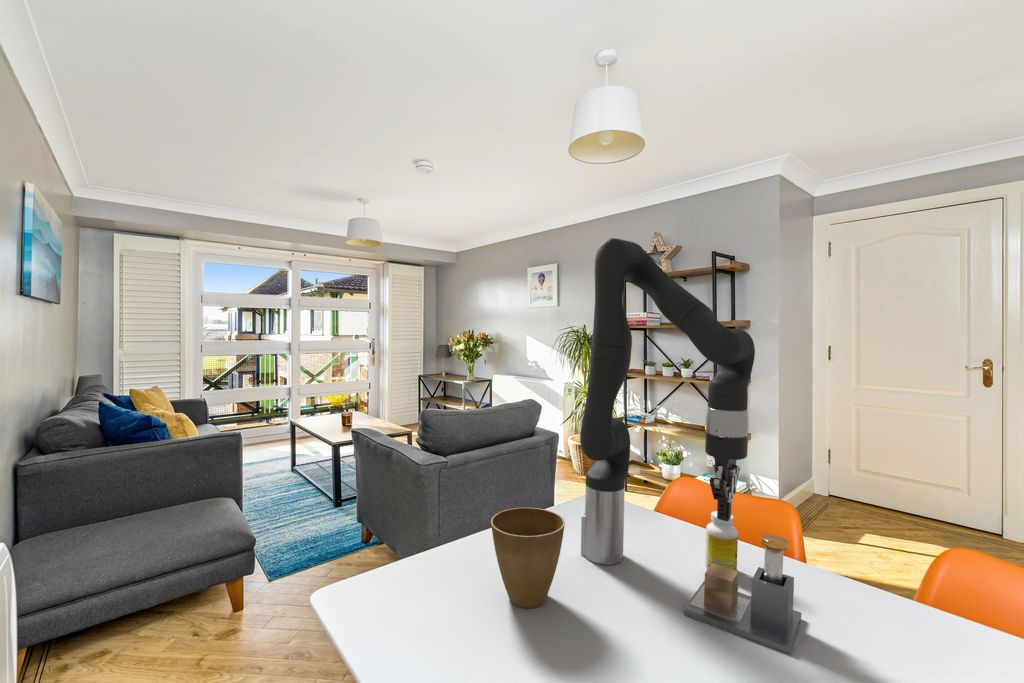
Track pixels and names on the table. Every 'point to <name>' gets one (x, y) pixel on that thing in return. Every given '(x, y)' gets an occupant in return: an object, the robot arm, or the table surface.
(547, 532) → the plant pot
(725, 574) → the block
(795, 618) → the grey assembly fixture
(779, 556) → the plunger
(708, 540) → the supplement bottle
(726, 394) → the robot arm
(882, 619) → the table surface
